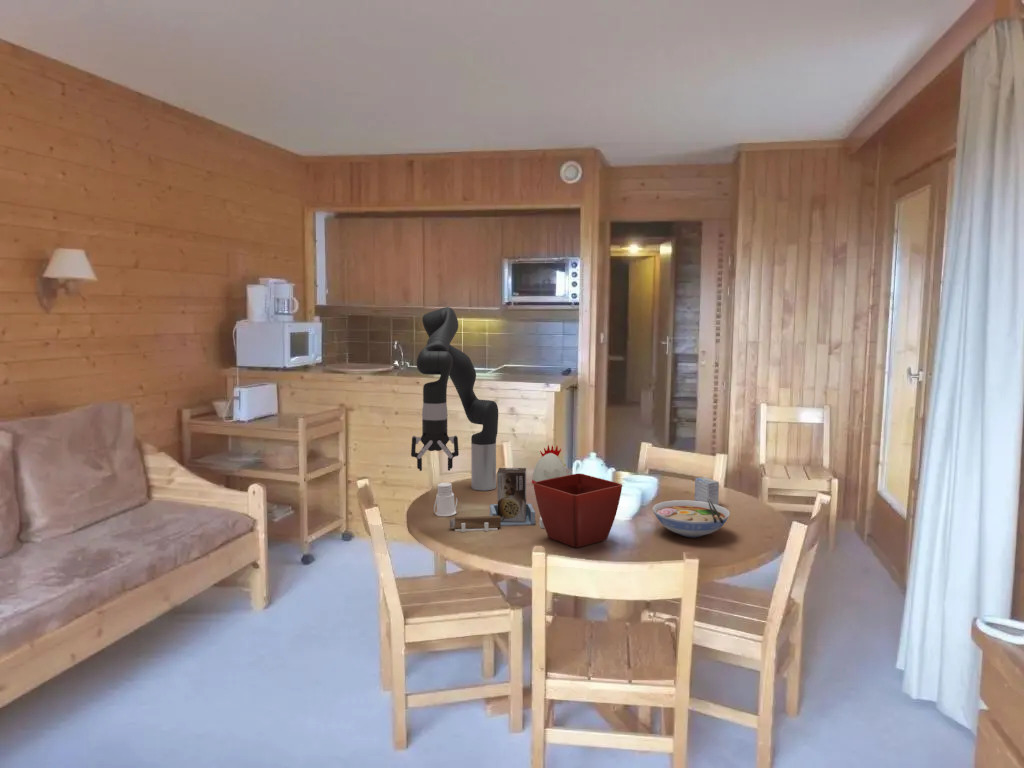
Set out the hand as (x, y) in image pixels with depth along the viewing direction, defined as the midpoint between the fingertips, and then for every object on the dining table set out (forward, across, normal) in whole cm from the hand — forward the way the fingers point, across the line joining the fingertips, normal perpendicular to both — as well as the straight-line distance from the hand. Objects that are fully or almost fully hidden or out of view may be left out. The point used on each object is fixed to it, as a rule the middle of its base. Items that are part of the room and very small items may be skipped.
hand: (434, 470), depth 223 cm
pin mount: (+19, +20, 0) cm, 27 cm away
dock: (+18, +25, +8) cm, 32 cm away
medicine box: (+18, +94, +19) cm, 97 cm away
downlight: (+19, +4, +18) cm, 26 cm away
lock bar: (+19, +13, 0) cm, 23 cm away
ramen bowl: (+18, +76, -12) cm, 80 cm away
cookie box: (+18, +25, +8) cm, 32 cm away
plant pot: (+19, +42, -12) cm, 47 cm away
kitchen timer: (+18, +45, +54) cm, 73 cm away
